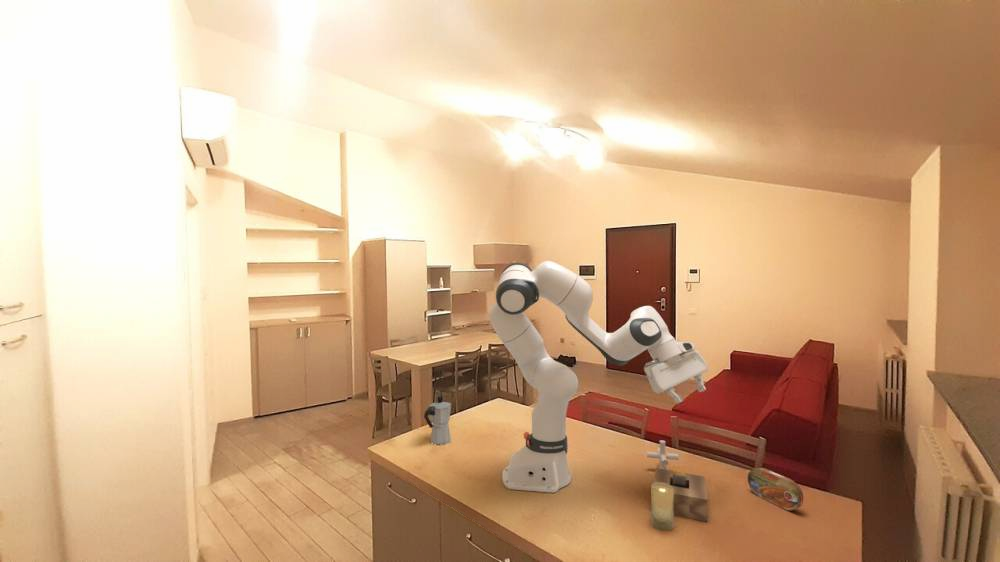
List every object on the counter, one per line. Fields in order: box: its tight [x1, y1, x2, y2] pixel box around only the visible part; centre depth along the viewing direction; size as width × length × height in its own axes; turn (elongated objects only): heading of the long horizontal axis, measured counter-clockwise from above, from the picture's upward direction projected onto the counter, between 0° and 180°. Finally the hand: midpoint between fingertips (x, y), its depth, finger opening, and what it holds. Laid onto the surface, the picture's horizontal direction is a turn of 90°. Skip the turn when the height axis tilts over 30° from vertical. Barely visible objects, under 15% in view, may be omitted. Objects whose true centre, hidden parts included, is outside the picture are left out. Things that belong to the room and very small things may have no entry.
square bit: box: [672, 465, 687, 488], centre depth 124 cm, size 4×4×10 cm
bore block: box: [652, 467, 708, 522], centre depth 124 cm, size 14×14×6 cm
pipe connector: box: [646, 439, 680, 470], centre depth 144 cm, size 10×10×10 cm
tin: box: [747, 467, 804, 511], centre depth 124 cm, size 15×3×8 cm, turn 24°
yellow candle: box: [650, 482, 675, 531], centre depth 114 cm, size 6×6×10 cm
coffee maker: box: [423, 395, 452, 446], centre depth 170 cm, size 15×9×18 cm, turn 144°
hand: (691, 396), depth 126 cm, fingers open, 8 cm apart
